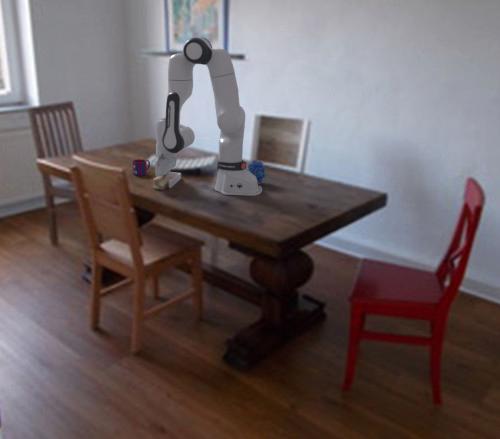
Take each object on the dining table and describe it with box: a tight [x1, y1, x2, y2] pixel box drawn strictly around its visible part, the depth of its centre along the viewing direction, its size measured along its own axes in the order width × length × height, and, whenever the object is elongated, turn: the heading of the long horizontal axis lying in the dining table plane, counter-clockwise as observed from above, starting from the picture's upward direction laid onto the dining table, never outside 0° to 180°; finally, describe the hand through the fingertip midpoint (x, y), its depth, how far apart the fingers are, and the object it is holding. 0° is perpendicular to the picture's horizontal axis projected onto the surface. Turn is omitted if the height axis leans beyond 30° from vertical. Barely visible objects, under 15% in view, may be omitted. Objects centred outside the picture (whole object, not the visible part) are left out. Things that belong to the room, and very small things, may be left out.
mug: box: [132, 158, 151, 177], centre depth 280 cm, size 7×10×7 cm
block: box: [152, 176, 169, 190], centre depth 260 cm, size 5×7×4 cm
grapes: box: [247, 160, 267, 183], centre depth 269 cm, size 12×7×12 cm, turn 127°
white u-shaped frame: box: [168, 171, 182, 189], centre depth 267 cm, size 9×16×3 cm, turn 169°
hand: (165, 180), depth 265 cm, fingers closed
